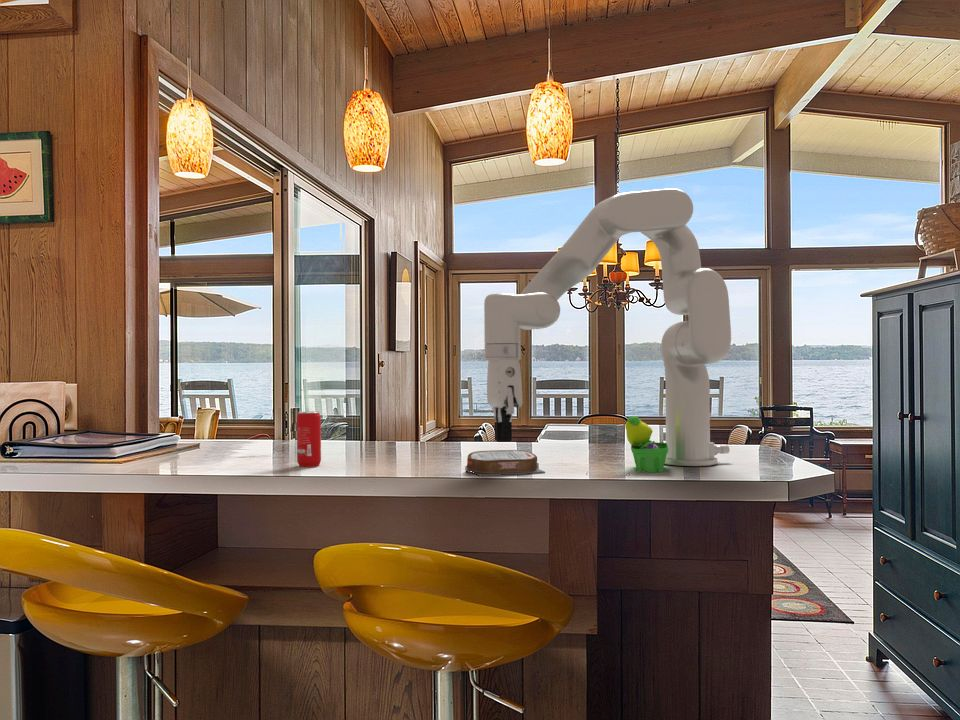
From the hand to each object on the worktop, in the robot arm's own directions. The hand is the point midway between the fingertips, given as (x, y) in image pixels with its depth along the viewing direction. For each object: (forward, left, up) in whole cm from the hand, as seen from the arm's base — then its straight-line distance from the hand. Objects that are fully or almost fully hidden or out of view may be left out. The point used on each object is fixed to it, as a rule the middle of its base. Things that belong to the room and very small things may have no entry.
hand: (503, 441), depth 161 cm
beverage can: (+38, -23, -7) cm, 45 cm away
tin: (0, -4, -3) cm, 5 cm away
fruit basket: (-30, +6, -7) cm, 31 cm away
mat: (0, +1, -6) cm, 6 cm away
